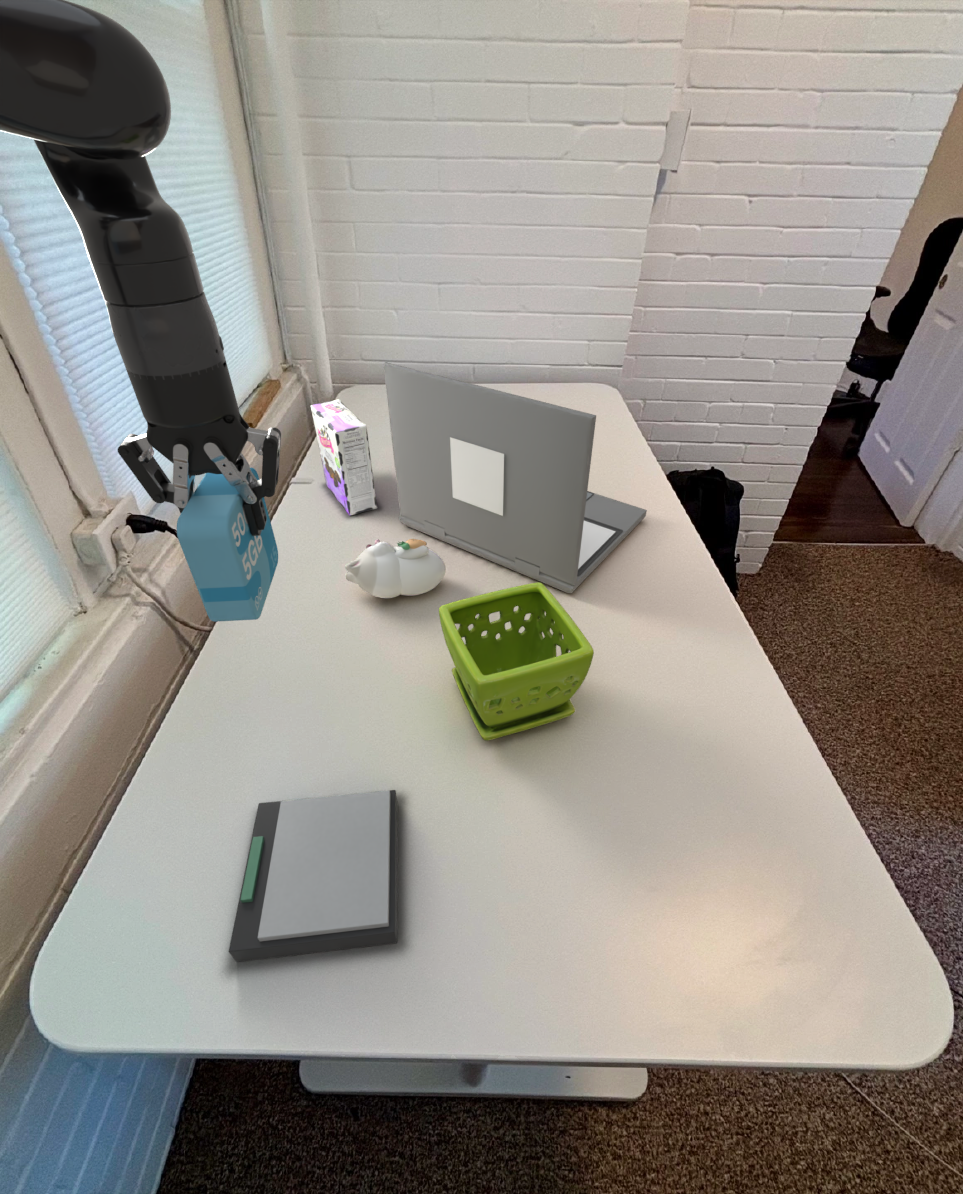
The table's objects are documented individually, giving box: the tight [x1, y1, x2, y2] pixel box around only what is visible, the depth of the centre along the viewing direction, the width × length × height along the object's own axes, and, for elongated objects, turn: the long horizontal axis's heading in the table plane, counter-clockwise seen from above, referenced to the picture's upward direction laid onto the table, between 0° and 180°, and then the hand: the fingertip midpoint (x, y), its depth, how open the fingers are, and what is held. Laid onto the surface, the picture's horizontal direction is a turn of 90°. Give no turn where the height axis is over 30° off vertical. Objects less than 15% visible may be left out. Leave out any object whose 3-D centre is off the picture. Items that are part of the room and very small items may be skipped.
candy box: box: [310, 398, 378, 516], centre depth 108 cm, size 14×6×16 cm, turn 30°
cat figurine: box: [344, 538, 446, 599], centre depth 88 cm, size 10×8×15 cm
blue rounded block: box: [176, 467, 279, 623], centre depth 60 cm, size 12×4×12 cm, turn 4°
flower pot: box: [438, 581, 595, 741], centre depth 70 cm, size 14×14×13 cm
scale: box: [228, 789, 399, 963], centre depth 56 cm, size 14×14×3 cm
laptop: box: [383, 361, 648, 594], centre depth 96 cm, size 35×26×28 cm
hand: (230, 532), depth 59 cm, fingers closed on blue rounded block, 4 cm apart
